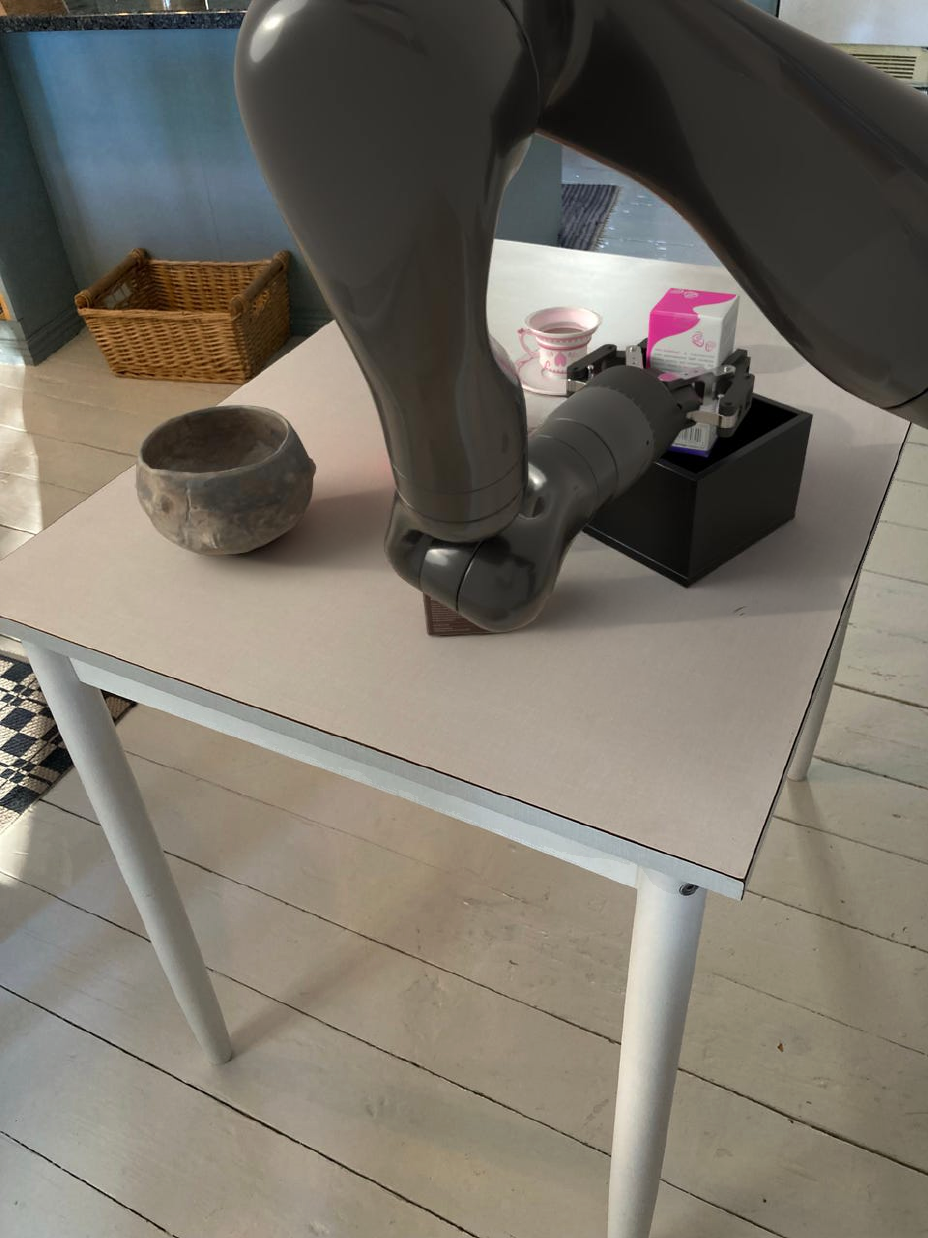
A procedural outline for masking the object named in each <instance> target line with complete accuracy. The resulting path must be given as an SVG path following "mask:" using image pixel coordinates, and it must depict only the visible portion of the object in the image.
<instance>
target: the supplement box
mask: <svg viewBox="0 0 928 1238" xmlns="http://www.w3.org/2000/svg"><path fill="white" fill-rule="evenodd" d="M740 298H741V297H740V294H735V293H725V292H715V291H707V290H697V289H686V288H679V287H678V288H677V287H670V288H669V289H668V290H667V291H666V292H665V294H664V295H663V296H662V297H661V298H660V300H659V301H658V302H657V303H656V304H655V305H654V307H652V309H651V310H650V311H649V317H648V330H647V337H648V345H647V357H646V369H647V368H648V367H649V368H654V369H658V370H660V371H663V372H667V373H668V372H673V373H679V372H682V371H685V370H689V369H692V368H695V367H699V366H702V367H704V368H706V369H708V370H709V369H712V368H715V367H719V366H721V364H722V363H723V362H724V361H725V360H726V359H727V358H728V357H729V356H730V355H731V354H732V353H733V352H734V347H735V341H736V340H735V339H736V332H737V323H738V314H739V307H740ZM717 382H718V381H716V382H715V383H714V384H713V386H712V391H716V390H717ZM694 384H695V383H692V385H693V387H694ZM718 437H719V436H717V435H716V426H715V425H711V424H705V423H700V422H697V424H696V425H694V426H693V427H691V428H687V429H684V430H682V431H681V432H680V433H679V434H678V436H677V438H676V439H675V441H674V442H673V444H672V445H671V447H670V448H669V449H668V450H667V451H673V452H679V453H685V454H691V455H696V456H702V457H708V455H709V454H710V452H711V450H712V448H713V446H714V444H715V442H716V441H717V439H718Z"/></svg>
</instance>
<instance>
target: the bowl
mask: <svg viewBox="0 0 928 1238" xmlns="http://www.w3.org/2000/svg"><path fill="white" fill-rule="evenodd" d="M135 464H136V465H135V484H134V488H135V490H136V495H137V500H138V503H139V504H140V507H141V508H142V510H143V512H144V513H145V515H146V516H147V517H148V518H149V521H150V522H151V524H152V526H153V528H155V530H156V532H158V533H159V534H160V535H162V536H163V537H164V538H165V539H167V540H168V541H170V542H171V543H173V544H175V545H177V546H178V547H179V548H181V549H183V550H186V551H189V552H191V553H195V554H198V555H204V556H227V555H238V554H243V553H249V552H251V551H253V550H254V549H258V548H260V547H263V546H265V545H267V544H269V543H270V542H272V541H274V540H276V539H278V538H279V537H280V536H282V535H284V534H285V533H287V532H288V531H290V530H291V529H293V528H294V527H295V526H297V524H298V523H299V521H300V520H301V519H302V518H303V515H304V513H305V512H306V511H307V509H308V508H309V505H310V503H311V500H312V498H313V497H312V496H313V492H314V477H315V476H316V473H317V465H316V463H315V461H314V459H313V458H311V457H309V454H308V451H307V450H306V448H305V446H304V444H303V442H302V440H301V439H300V436H299V434H298V432H296V430H295V428H294V427H293V426H292V424H291V423H290V421H289V420H288V419H286V417H285V416H284V415H282V414H281V413H280V412H277V411H275V410H273V409H271V408H268V407H263V406H257V405H248V404H231V405H230V404H229V405H217V406H210V407H204V408H200V409H196V410H191V411H188V412H185V413H182V414H178V415H176V416H173V417H171V418H169V419H167V420H165V421H163V422H161V423H160V424H159V425H157V426H156V427H154V428H153V429H152V430H151V431H149V433H148V434H147V436H145V438H144V439H143V440H142V442H141V444H140V446H139V449H138V452H137V457H136V463H135Z"/></svg>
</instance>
